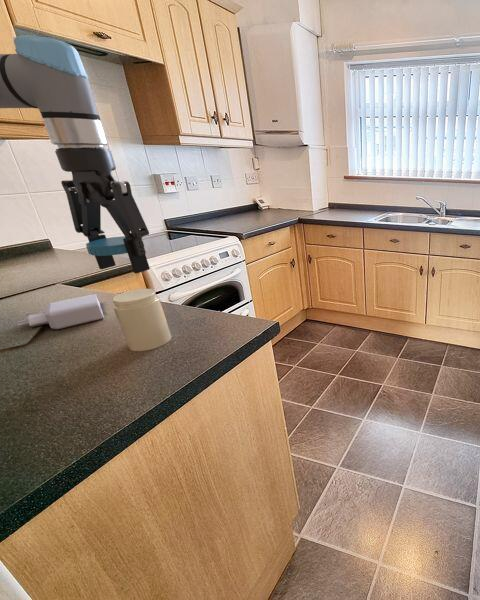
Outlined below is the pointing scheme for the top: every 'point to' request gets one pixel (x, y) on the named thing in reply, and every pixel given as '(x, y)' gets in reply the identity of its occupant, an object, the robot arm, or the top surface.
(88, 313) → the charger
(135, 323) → the jar
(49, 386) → the top surface
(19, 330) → the top surface
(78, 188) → the robot arm
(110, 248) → the lid
